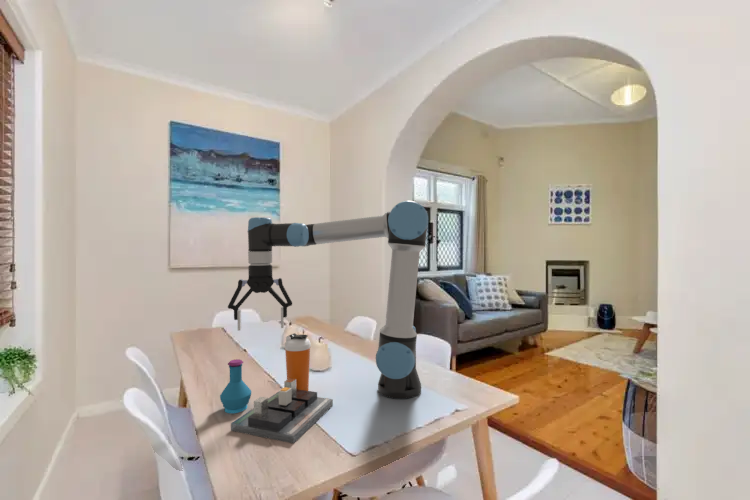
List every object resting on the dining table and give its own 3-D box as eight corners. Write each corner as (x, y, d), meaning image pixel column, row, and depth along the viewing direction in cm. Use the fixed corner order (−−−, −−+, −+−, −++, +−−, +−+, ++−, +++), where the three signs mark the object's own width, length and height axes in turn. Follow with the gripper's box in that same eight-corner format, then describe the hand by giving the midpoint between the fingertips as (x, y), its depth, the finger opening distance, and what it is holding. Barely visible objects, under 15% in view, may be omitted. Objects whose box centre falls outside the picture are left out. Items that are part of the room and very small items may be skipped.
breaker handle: (291, 401, 108) (291, 387, 108) (286, 405, 105) (285, 391, 105) (284, 400, 109) (284, 386, 109) (278, 404, 106) (278, 390, 106)
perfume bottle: (221, 418, 107) (220, 367, 106) (219, 405, 115) (218, 359, 115) (253, 411, 111) (253, 363, 111) (249, 399, 119) (248, 354, 119)
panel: (332, 405, 115) (332, 380, 114) (293, 443, 93) (293, 412, 93) (279, 397, 121) (278, 373, 121) (230, 430, 99) (230, 401, 99)
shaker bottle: (305, 398, 120) (304, 339, 119) (280, 396, 121) (279, 337, 121) (314, 388, 128) (314, 332, 128) (291, 386, 130) (291, 331, 130)
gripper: (298, 263, 125) (299, 323, 125) (222, 264, 119) (223, 328, 120) (299, 264, 118) (299, 328, 118) (217, 265, 112) (218, 333, 112)
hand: (261, 328), depth 119 cm, fingers open, 13 cm apart
